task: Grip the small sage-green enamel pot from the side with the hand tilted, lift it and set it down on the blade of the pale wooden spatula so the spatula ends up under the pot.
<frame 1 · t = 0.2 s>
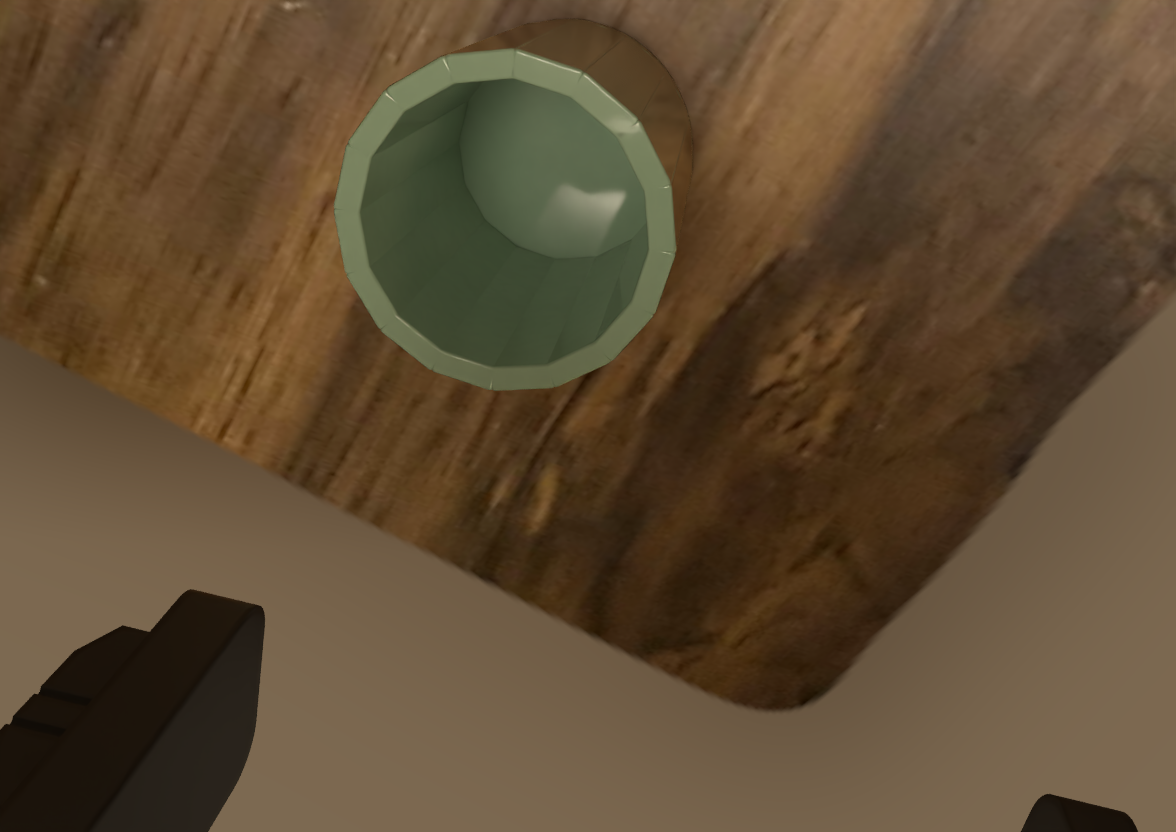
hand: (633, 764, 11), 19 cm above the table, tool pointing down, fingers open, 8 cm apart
pot: (568, 149, 28), on the table
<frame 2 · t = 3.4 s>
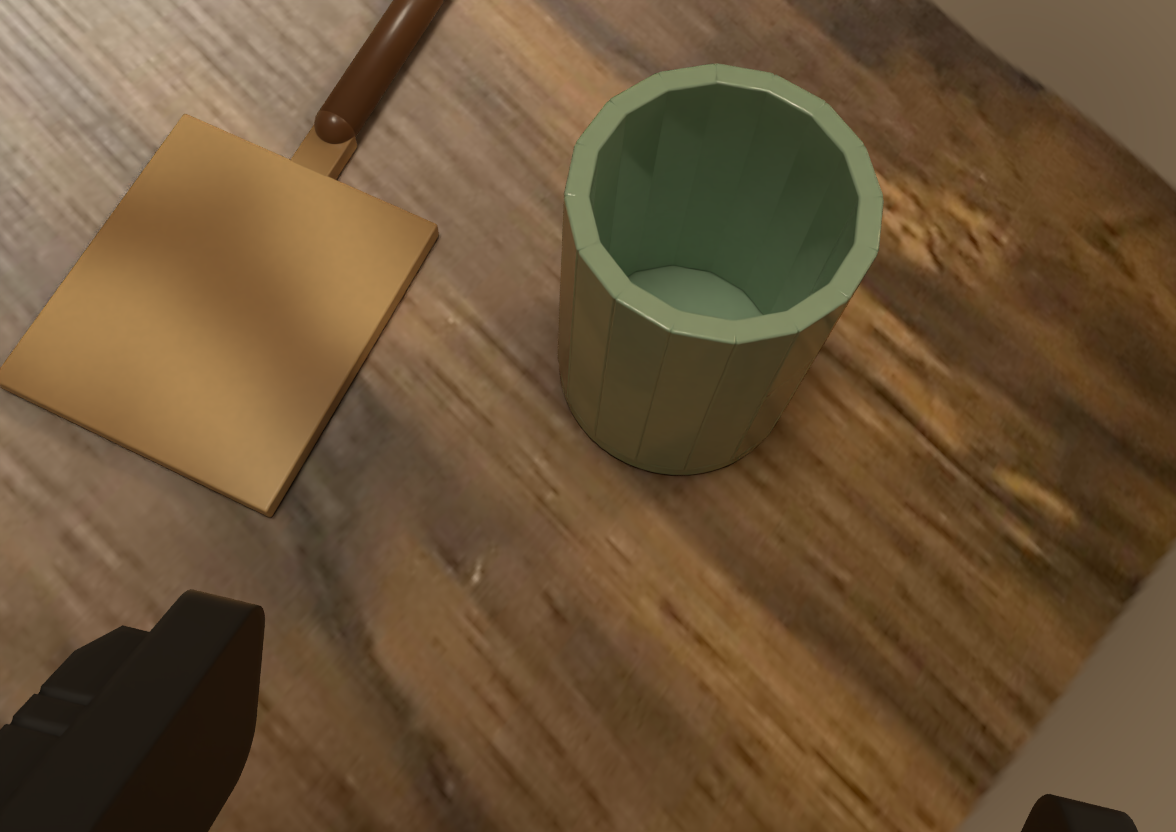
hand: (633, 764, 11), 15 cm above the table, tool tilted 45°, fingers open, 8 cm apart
spatula: (228, 308, 30), on the table
pot: (674, 364, 30), on the table
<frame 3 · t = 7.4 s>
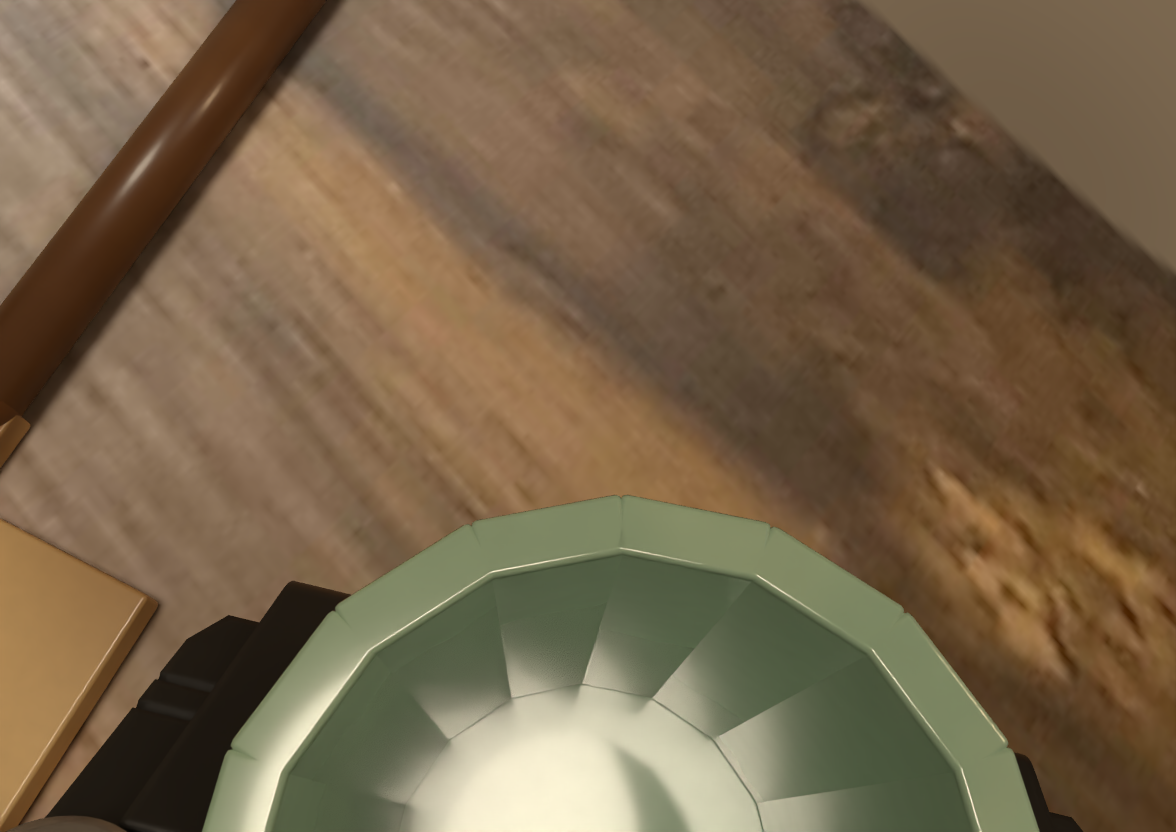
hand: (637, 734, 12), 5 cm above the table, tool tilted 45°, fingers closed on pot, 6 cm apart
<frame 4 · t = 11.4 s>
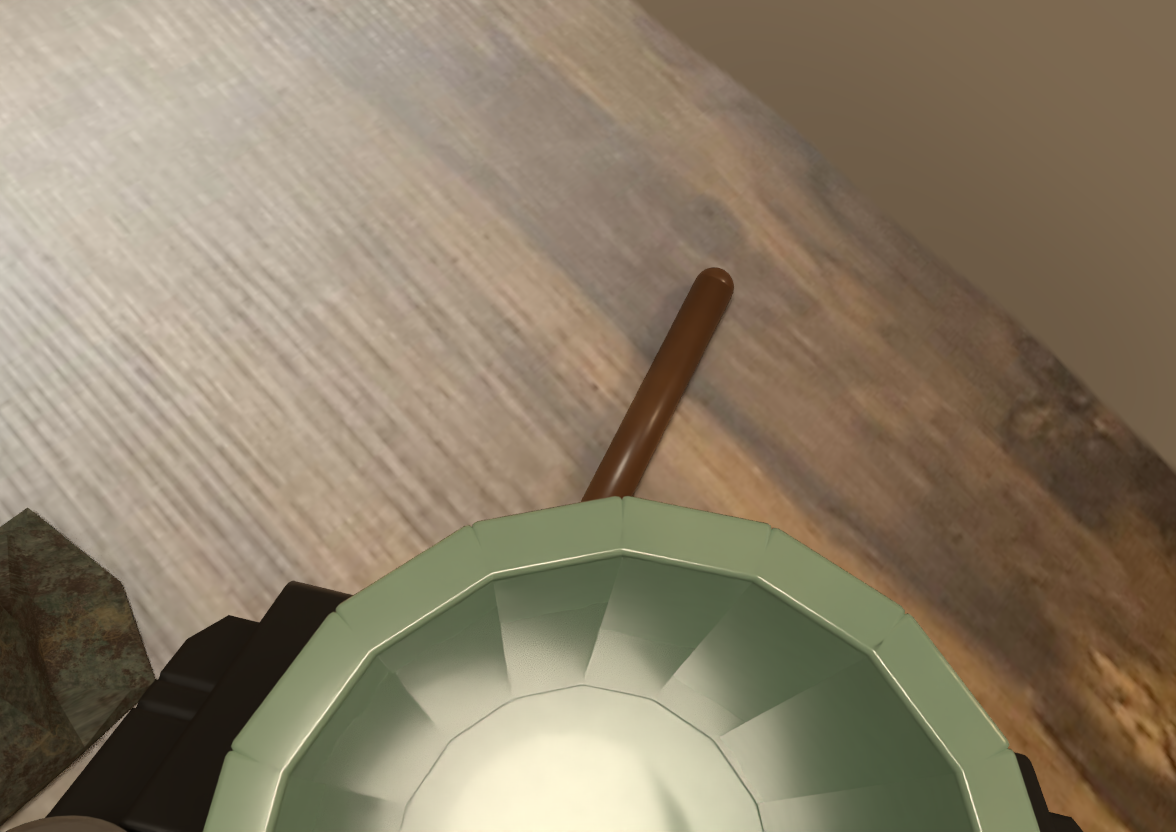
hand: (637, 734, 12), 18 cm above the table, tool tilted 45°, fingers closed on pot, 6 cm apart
spatula: (441, 827, 28), on the table
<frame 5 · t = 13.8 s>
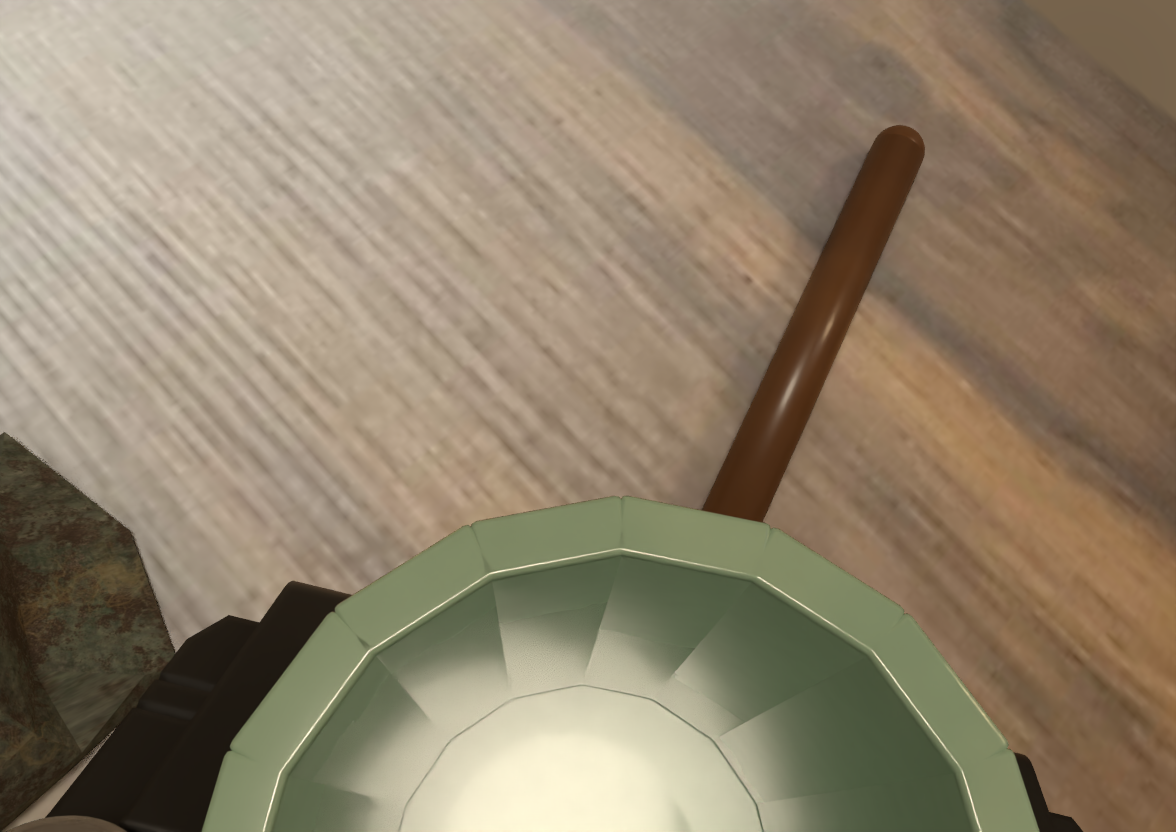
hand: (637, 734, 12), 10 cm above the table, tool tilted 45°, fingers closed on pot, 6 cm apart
when the fingers open (5 cm above the table, at t = 15.7 s): pot stays where it is, resting on spatula.
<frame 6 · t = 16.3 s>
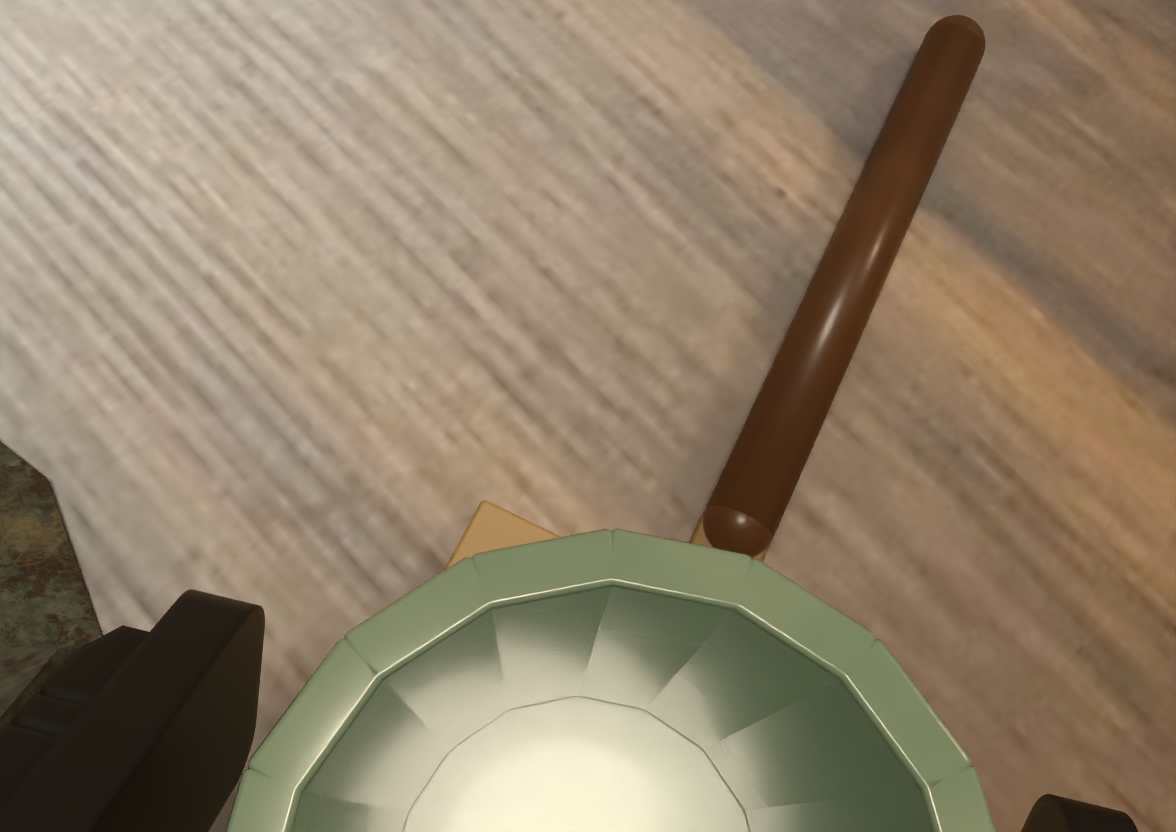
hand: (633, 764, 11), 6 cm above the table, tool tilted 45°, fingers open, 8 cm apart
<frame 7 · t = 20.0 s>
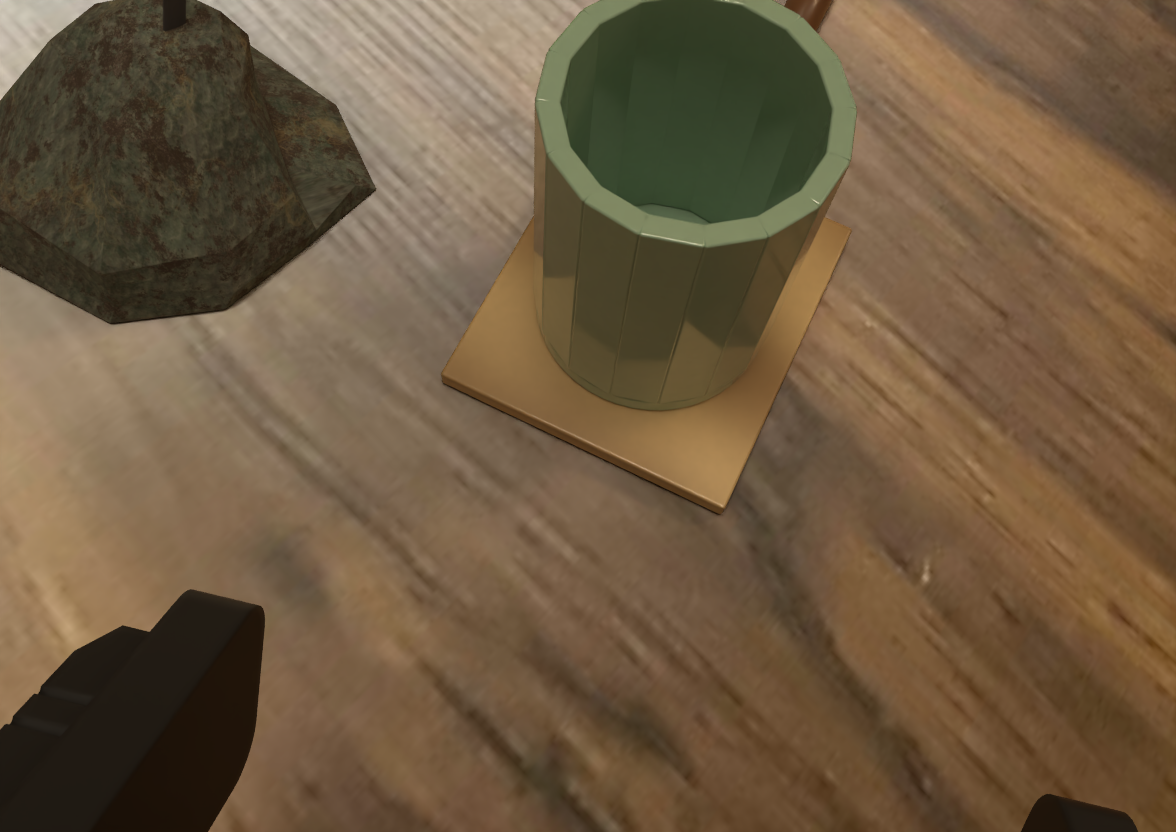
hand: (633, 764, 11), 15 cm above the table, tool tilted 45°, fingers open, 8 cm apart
spatula: (651, 308, 30), on the table, touching pot
sword in stone: (180, 196, 31), on the table
pot: (651, 302, 29), point 1 cm above the table, touching spatula
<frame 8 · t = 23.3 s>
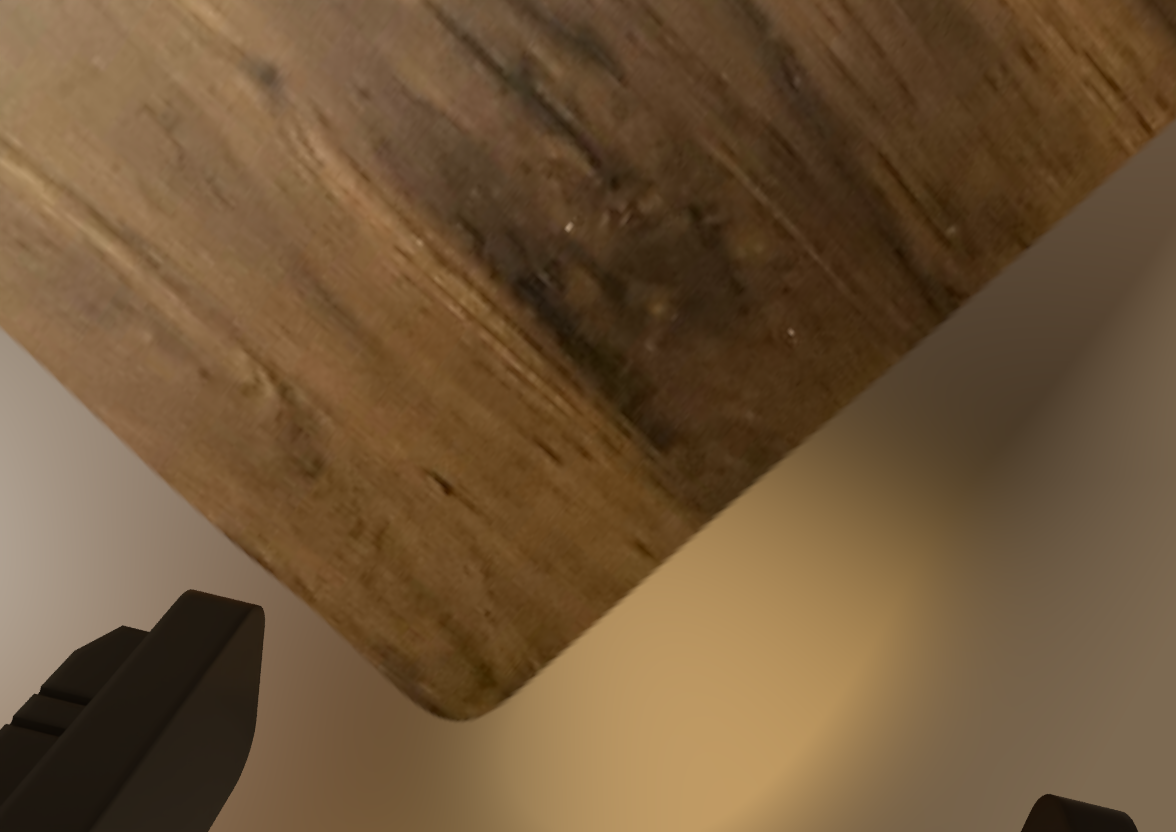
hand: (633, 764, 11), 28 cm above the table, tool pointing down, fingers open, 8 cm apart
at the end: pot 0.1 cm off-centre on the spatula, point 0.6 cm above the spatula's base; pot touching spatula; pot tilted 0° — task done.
